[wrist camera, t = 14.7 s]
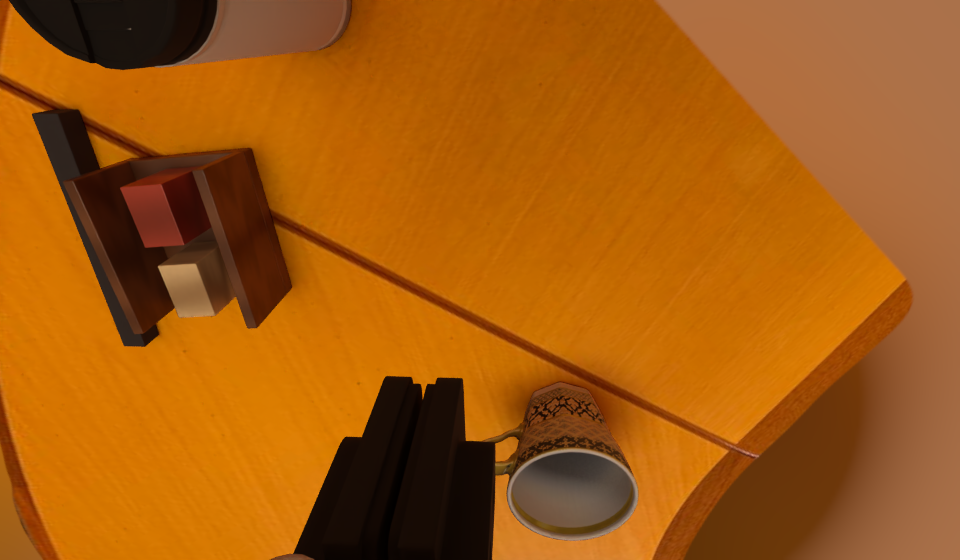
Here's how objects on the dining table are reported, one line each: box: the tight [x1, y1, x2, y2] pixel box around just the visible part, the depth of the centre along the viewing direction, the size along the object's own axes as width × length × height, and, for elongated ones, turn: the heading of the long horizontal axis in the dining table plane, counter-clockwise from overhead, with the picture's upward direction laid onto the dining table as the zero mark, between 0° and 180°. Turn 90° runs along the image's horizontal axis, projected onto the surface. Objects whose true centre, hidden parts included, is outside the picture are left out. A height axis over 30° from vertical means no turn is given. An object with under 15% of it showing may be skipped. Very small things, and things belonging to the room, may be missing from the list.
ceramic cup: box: [481, 382, 638, 541], centre depth 43 cm, size 13×10×10 cm
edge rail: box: [32, 110, 159, 347], centre depth 42 cm, size 20×2×2 cm, turn 1°
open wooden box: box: [63, 148, 292, 334], centre depth 39 cm, size 12×10×7 cm
